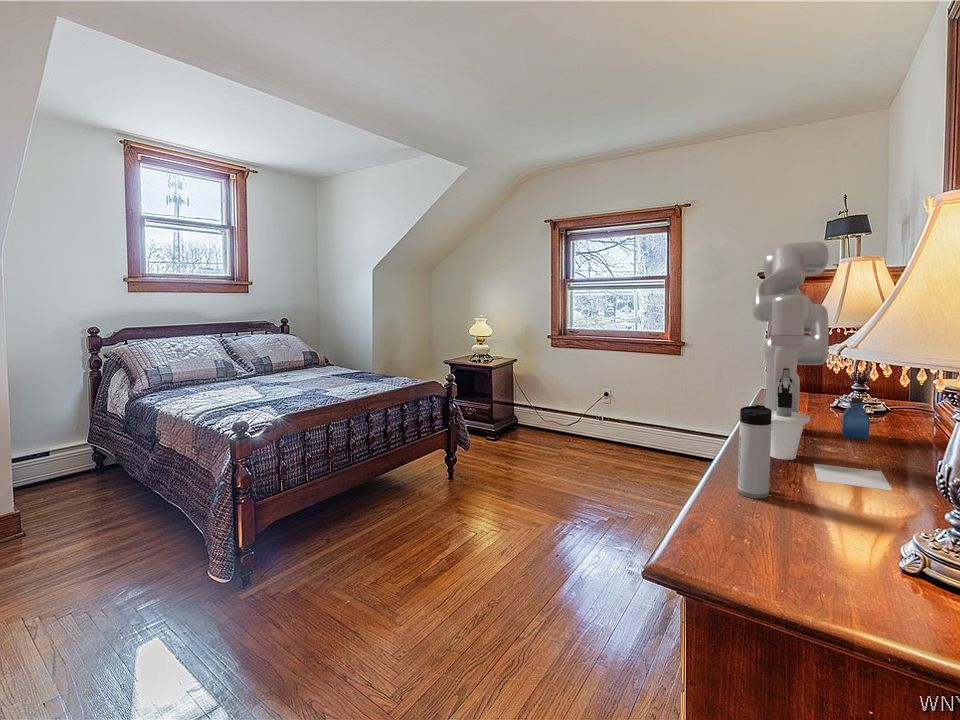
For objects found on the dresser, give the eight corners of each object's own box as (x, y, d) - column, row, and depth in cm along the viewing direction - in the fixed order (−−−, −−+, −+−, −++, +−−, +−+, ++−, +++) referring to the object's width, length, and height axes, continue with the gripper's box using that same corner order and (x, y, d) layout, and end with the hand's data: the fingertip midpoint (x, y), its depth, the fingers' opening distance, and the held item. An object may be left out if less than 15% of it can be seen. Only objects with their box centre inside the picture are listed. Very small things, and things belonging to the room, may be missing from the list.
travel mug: (773, 492, 113) (776, 406, 111) (763, 501, 109) (767, 411, 106) (743, 486, 118) (746, 403, 115) (733, 494, 113) (735, 408, 111)
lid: (759, 412, 144) (759, 392, 144) (808, 416, 138) (809, 395, 138) (758, 421, 134) (759, 399, 133) (811, 425, 128) (812, 403, 127)
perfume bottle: (868, 439, 152) (871, 401, 151) (843, 437, 155) (845, 399, 154) (866, 434, 157) (868, 397, 156) (841, 432, 161) (843, 396, 159)
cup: (810, 464, 132) (812, 423, 130) (769, 462, 134) (770, 422, 132) (794, 453, 141) (796, 415, 140) (756, 451, 143) (757, 414, 142)
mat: (813, 465, 131) (813, 463, 130) (881, 473, 123) (881, 471, 123) (817, 482, 119) (817, 480, 118) (892, 492, 111) (892, 490, 111)
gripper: (771, 339, 143) (768, 397, 145) (770, 344, 128) (768, 409, 130) (802, 339, 139) (799, 399, 141) (805, 344, 125) (802, 411, 126)
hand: (784, 404), depth 136 cm, fingers open, 9 cm apart
